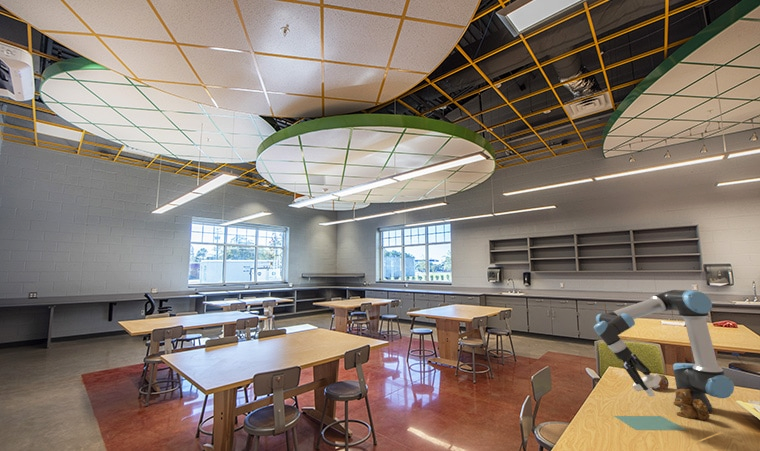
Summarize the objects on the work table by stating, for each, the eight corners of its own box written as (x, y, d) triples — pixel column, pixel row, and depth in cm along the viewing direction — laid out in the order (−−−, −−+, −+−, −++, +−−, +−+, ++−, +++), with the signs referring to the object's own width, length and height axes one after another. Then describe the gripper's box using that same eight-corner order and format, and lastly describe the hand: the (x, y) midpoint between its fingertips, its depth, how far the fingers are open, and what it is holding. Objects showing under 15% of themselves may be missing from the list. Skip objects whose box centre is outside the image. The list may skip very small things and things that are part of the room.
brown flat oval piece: (653, 391, 203) (651, 377, 205) (647, 389, 206) (645, 375, 208) (670, 388, 207) (667, 374, 209) (664, 387, 210) (662, 373, 212)
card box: (636, 379, 170) (657, 373, 163) (641, 384, 169) (662, 378, 162) (632, 386, 166) (652, 380, 158) (636, 391, 164) (657, 386, 157)
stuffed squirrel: (681, 410, 173) (677, 384, 175) (716, 420, 161) (711, 392, 163) (671, 414, 169) (667, 387, 171) (707, 424, 157) (702, 396, 159)
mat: (660, 416, 166) (660, 415, 166) (688, 431, 150) (688, 430, 150) (613, 416, 167) (613, 415, 167) (636, 431, 151) (636, 430, 151)
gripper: (620, 344, 180) (653, 383, 170) (606, 359, 167) (641, 403, 158) (632, 339, 174) (667, 380, 165) (619, 355, 162) (656, 399, 153)
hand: (654, 391), depth 162 cm, fingers closed on card box, 8 cm apart
